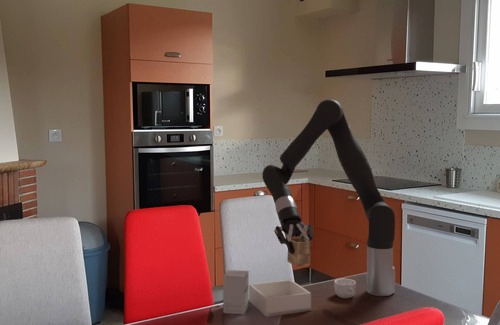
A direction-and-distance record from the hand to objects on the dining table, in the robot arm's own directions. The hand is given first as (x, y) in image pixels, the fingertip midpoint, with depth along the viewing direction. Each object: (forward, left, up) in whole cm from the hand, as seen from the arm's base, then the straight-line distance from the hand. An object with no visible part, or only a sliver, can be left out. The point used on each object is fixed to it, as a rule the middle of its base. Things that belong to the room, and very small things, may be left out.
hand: (301, 252), depth 170 cm
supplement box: (+22, -4, -19) cm, 29 cm away
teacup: (-19, -2, -19) cm, 27 cm away
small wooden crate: (0, -2, -4) cm, 5 cm away
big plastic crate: (+7, -3, -19) cm, 20 cm away
